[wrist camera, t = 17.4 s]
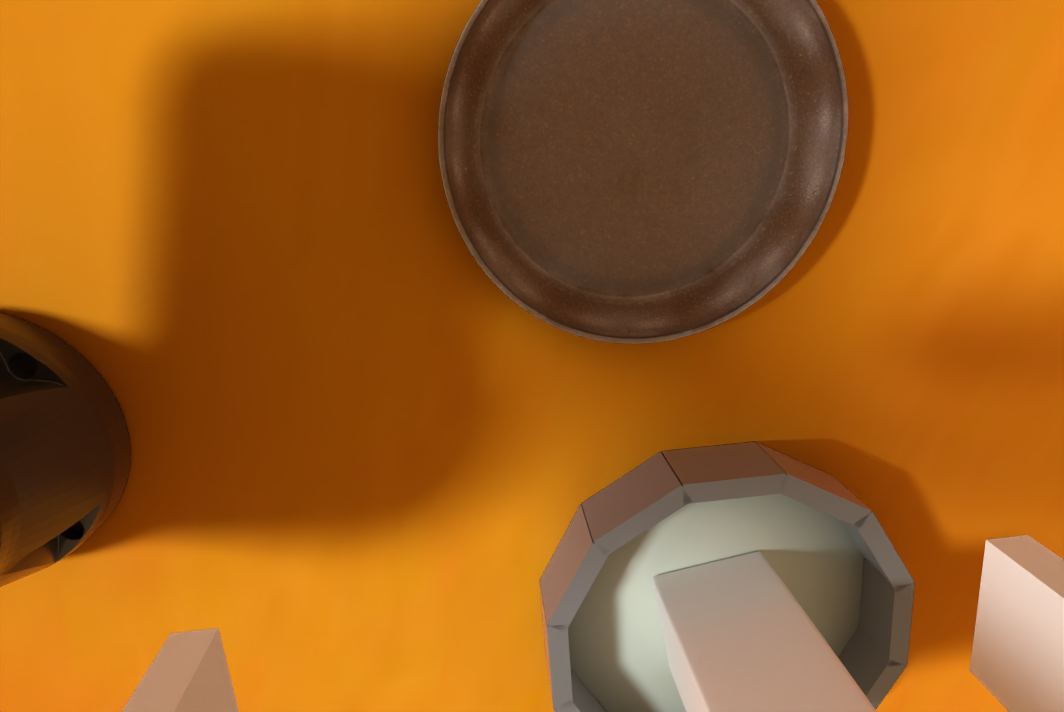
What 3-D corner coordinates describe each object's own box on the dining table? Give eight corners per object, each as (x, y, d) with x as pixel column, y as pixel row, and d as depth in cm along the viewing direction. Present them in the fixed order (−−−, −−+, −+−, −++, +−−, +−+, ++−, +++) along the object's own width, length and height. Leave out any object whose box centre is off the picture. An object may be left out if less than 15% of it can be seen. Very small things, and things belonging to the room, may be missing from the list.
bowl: (554, 754, 49) (561, 812, 44) (529, 464, 42) (536, 500, 38) (860, 714, 50) (897, 767, 46) (881, 428, 44) (926, 458, 39)
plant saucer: (612, 400, 42) (624, 420, 39) (358, 132, 37) (347, 130, 33) (889, 157, 39) (926, 158, 36) (657, -170, 34) (676, -203, 31)
